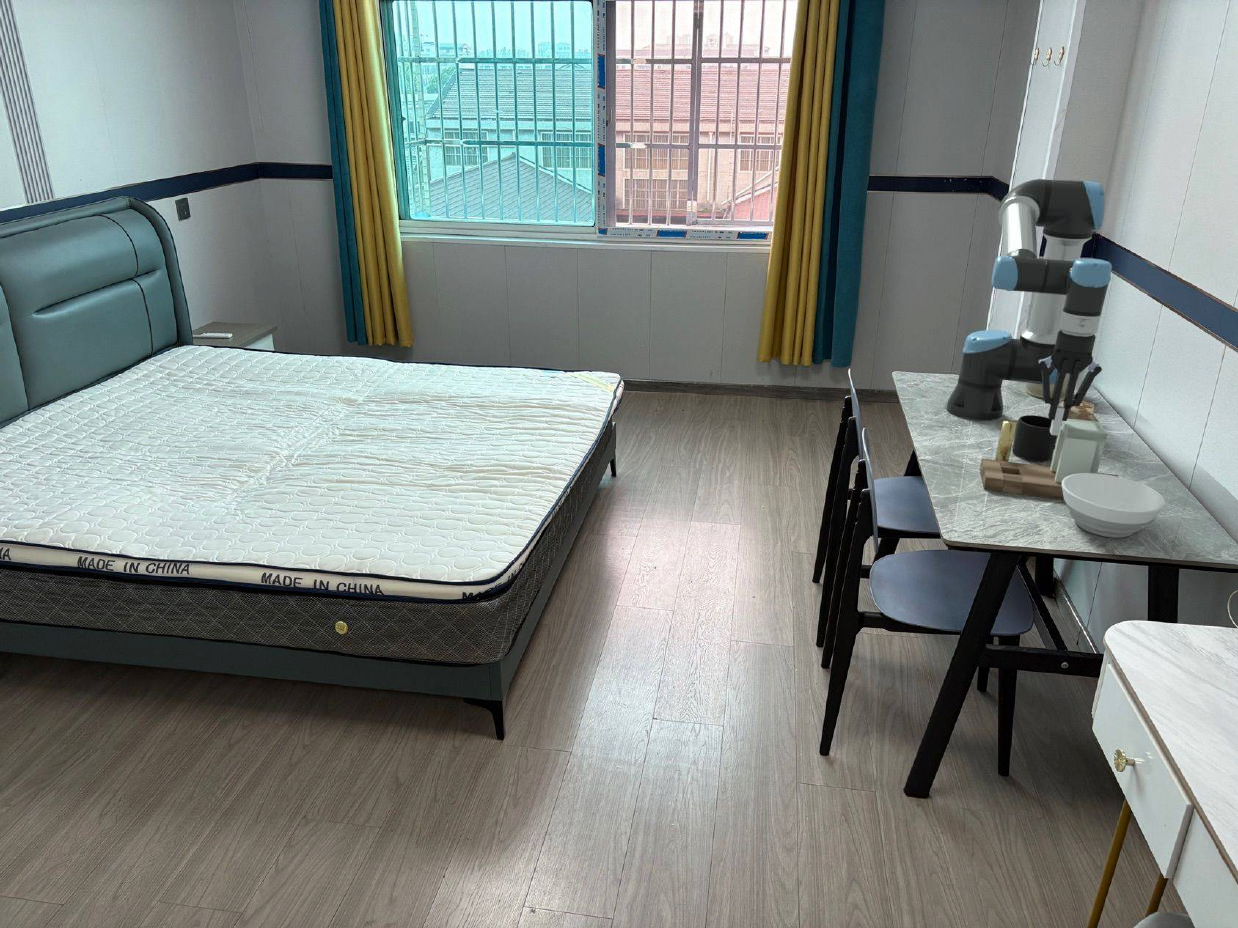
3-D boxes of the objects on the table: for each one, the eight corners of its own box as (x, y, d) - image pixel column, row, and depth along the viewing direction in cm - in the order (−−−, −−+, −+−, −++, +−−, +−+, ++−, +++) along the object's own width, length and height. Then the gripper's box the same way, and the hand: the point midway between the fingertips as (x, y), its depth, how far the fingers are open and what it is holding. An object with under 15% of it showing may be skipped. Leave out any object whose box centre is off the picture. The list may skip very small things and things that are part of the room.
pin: (993, 464, 221) (1002, 419, 217) (1006, 466, 221) (1015, 420, 216) (994, 469, 219) (1003, 423, 214) (1007, 471, 218) (1017, 424, 213)
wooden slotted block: (979, 469, 218) (988, 423, 214) (1114, 486, 211) (1127, 439, 206) (983, 489, 208) (993, 441, 203) (1126, 507, 200) (1139, 458, 196)
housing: (1050, 468, 212) (1062, 417, 207) (1087, 473, 210) (1099, 422, 205) (1055, 481, 204) (1067, 429, 199) (1093, 486, 202) (1107, 434, 198)
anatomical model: (1096, 444, 237) (1101, 427, 235) (1055, 439, 240) (1059, 421, 238) (1088, 418, 256) (1092, 401, 254) (1051, 413, 259) (1054, 396, 258)
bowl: (1082, 548, 182) (1092, 511, 179) (1036, 506, 200) (1044, 472, 197) (1175, 548, 183) (1186, 511, 180) (1121, 506, 201) (1130, 472, 198)
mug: (1063, 466, 222) (1071, 432, 218) (1011, 457, 226) (1018, 424, 223) (1062, 453, 230) (1070, 420, 226) (1012, 445, 234) (1019, 412, 231)
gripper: (1047, 333, 194) (1025, 435, 203) (1113, 339, 190) (1088, 442, 199) (1042, 325, 200) (1021, 424, 209) (1106, 330, 197) (1082, 431, 206)
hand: (1054, 433), depth 204 cm, fingers closed
